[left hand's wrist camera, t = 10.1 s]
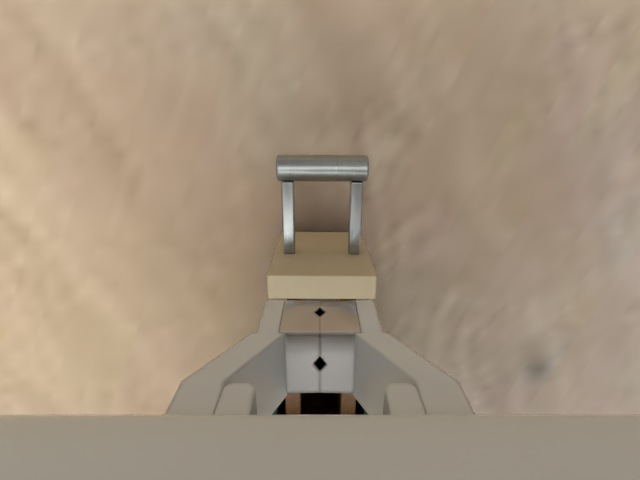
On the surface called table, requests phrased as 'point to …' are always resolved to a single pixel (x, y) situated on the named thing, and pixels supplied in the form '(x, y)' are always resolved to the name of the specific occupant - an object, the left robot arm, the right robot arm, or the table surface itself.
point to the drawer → (321, 258)
